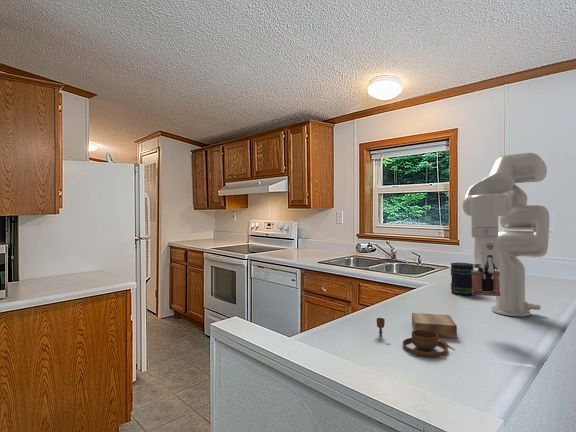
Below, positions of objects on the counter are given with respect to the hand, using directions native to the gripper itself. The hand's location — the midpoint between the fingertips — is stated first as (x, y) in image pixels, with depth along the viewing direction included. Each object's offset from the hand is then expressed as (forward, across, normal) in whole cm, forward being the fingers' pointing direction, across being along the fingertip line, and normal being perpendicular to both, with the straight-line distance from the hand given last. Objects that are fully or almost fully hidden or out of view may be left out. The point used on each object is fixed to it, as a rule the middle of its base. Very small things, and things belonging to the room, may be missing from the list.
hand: (485, 289), depth 111 cm
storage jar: (+16, +56, -4) cm, 58 cm away
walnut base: (+14, -3, +16) cm, 22 cm away
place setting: (+14, -16, +23) cm, 32 cm away
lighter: (+2, 0, 0) cm, 2 cm away
